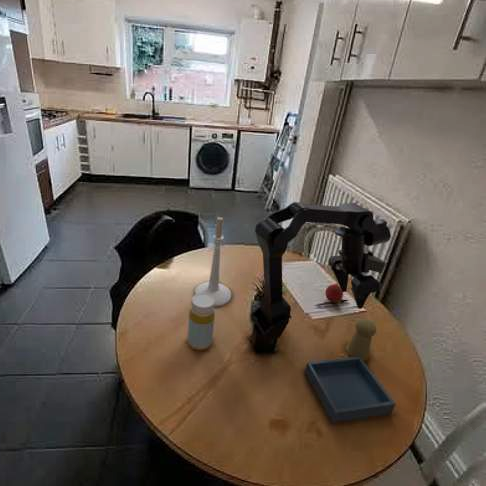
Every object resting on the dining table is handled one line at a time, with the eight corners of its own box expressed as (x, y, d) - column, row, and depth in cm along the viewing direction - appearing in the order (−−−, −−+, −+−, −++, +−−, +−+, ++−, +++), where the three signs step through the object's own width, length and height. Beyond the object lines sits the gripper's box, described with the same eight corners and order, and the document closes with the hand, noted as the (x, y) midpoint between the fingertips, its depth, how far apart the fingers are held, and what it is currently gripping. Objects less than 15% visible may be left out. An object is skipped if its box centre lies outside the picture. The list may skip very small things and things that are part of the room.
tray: (332, 423, 70) (335, 412, 69) (304, 371, 82) (307, 362, 81) (391, 414, 73) (395, 403, 72) (356, 365, 85) (359, 356, 84)
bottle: (215, 338, 91) (220, 296, 85) (205, 355, 85) (209, 311, 79) (194, 329, 93) (197, 288, 87) (183, 345, 87) (185, 302, 81)
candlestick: (187, 294, 108) (191, 215, 97) (210, 279, 118) (217, 206, 106) (215, 311, 101) (223, 229, 90) (238, 294, 110) (248, 218, 99)
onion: (341, 308, 108) (347, 289, 105) (324, 305, 108) (329, 286, 105) (338, 298, 113) (344, 280, 110) (322, 295, 114) (327, 277, 111)
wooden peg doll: (342, 344, 92) (351, 315, 88) (361, 344, 93) (371, 315, 89) (352, 361, 87) (363, 330, 83) (372, 360, 87) (384, 330, 83)
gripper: (403, 258, 76) (399, 314, 80) (363, 235, 95) (362, 281, 98) (359, 263, 76) (357, 319, 80) (327, 239, 94) (327, 285, 98)
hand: (351, 299), depth 89 cm, fingers open, 9 cm apart
